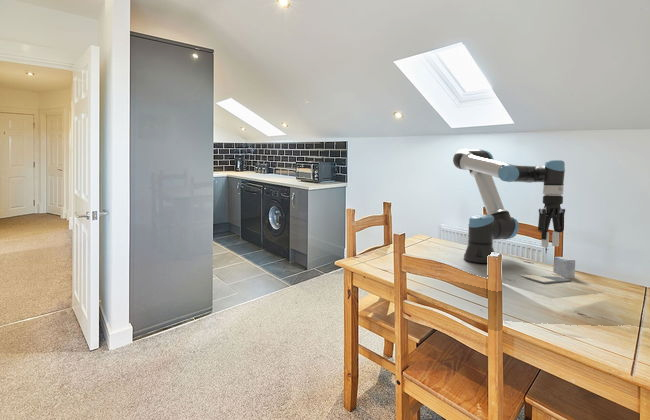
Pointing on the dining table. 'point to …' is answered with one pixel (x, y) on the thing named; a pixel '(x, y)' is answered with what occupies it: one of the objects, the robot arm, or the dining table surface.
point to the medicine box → (564, 267)
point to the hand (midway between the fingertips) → (550, 246)
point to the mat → (545, 279)
